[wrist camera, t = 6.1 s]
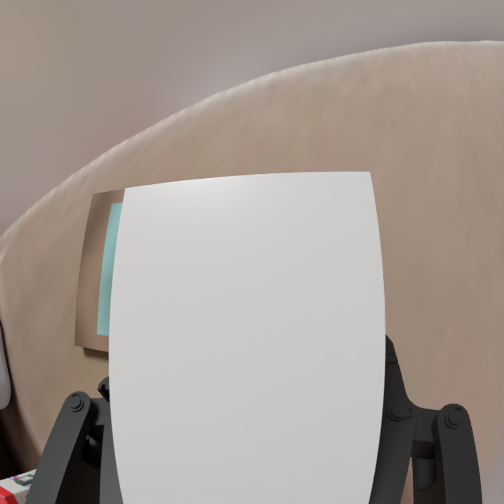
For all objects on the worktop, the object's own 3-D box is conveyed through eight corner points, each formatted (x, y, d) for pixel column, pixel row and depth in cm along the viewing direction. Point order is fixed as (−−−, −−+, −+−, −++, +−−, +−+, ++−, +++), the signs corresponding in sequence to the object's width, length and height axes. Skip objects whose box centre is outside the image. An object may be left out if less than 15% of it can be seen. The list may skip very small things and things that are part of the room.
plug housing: (325, 272, 18) (369, 172, 6) (322, 444, 15) (345, 579, 3) (228, 274, 18) (125, 188, 7) (226, 442, 16) (137, 555, 4)
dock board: (218, 185, 27) (214, 178, 26) (211, 362, 23) (206, 363, 22) (98, 198, 29) (92, 194, 28) (82, 345, 25) (74, 345, 24)
